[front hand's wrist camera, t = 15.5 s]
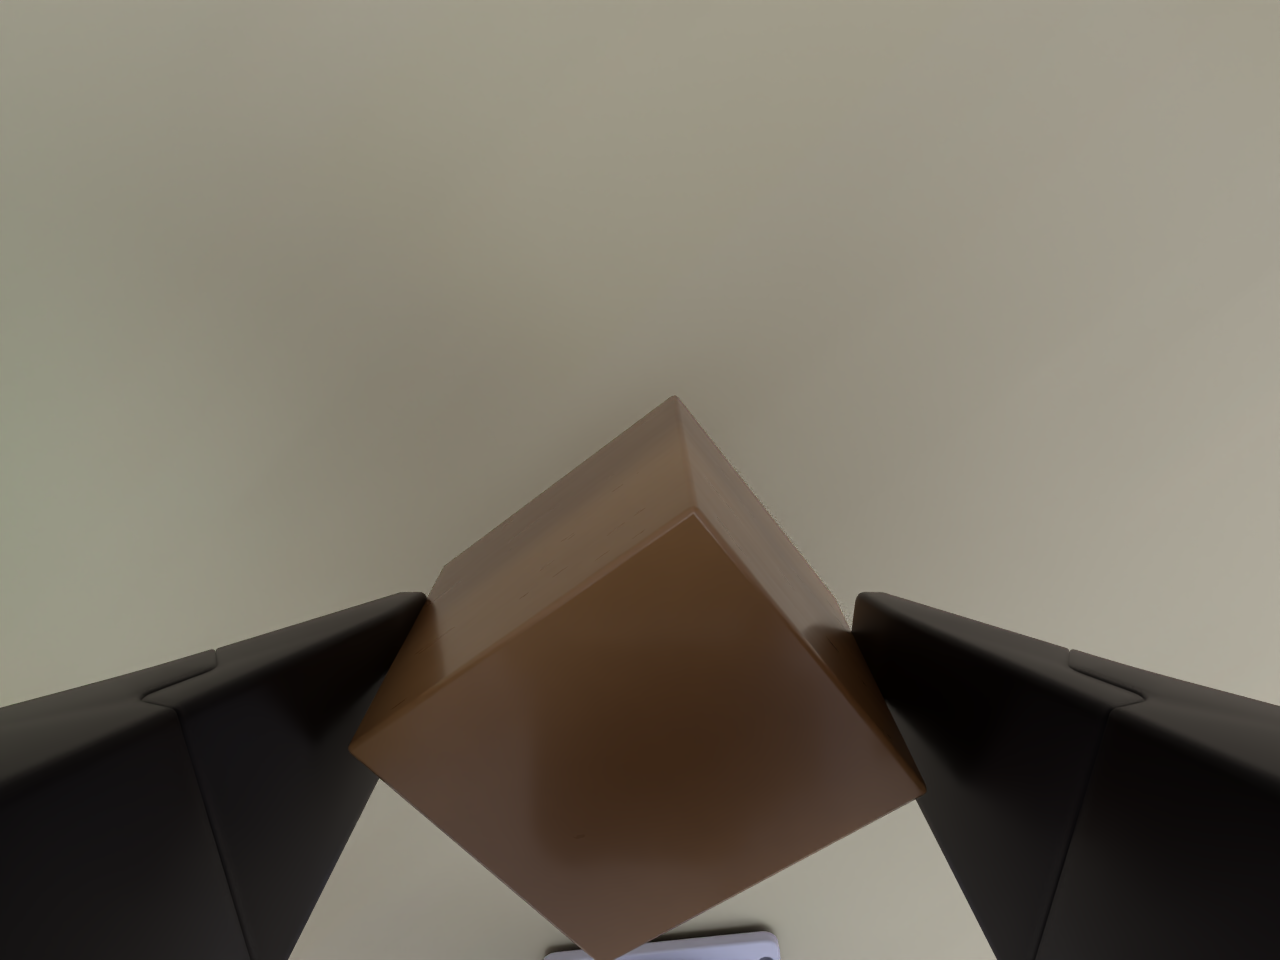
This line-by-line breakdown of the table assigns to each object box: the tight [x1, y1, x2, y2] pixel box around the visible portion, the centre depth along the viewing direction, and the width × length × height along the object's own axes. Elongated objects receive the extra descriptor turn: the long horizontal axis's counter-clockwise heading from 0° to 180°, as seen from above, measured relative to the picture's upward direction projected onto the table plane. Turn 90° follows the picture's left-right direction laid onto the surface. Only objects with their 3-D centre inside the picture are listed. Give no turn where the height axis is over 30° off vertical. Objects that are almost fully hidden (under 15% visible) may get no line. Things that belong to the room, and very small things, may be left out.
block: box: [348, 396, 927, 960], centre depth 10 cm, size 5×5×4 cm
